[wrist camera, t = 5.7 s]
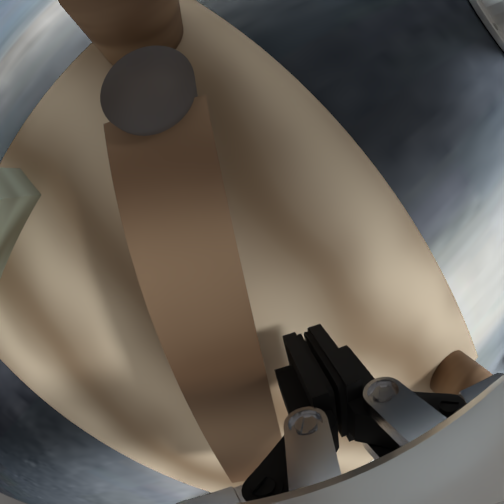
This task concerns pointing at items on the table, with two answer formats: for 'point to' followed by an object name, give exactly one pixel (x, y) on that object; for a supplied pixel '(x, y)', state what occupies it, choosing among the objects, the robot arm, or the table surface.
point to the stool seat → (247, 238)
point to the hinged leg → (188, 251)
